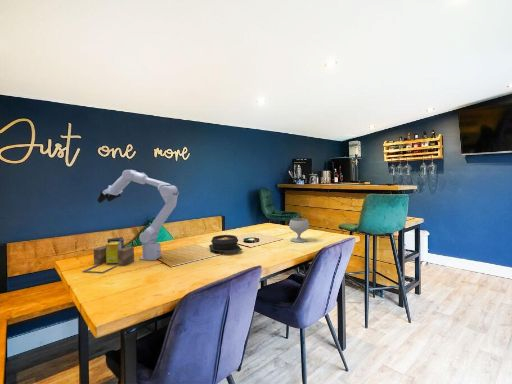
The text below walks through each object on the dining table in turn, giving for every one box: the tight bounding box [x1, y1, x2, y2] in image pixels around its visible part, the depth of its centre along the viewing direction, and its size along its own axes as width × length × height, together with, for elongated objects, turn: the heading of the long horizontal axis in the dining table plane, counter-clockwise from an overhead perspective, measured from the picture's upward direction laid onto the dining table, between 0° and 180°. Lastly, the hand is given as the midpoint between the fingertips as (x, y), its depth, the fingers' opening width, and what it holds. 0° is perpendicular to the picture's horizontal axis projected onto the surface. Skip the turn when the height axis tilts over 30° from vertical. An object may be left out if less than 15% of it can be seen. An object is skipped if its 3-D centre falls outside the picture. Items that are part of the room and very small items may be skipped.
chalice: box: [288, 218, 310, 243], centre depth 201 cm, size 14×14×15 cm
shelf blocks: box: [93, 245, 135, 267], centre depth 152 cm, size 18×8×8 cm, turn 80°
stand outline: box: [81, 264, 119, 274], centre depth 142 cm, size 11×11×1 cm
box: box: [106, 236, 125, 248], centre depth 164 cm, size 8×6×11 cm
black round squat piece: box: [208, 234, 242, 254], centre depth 176 cm, size 25×19×8 cm
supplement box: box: [105, 242, 122, 266], centre depth 152 cm, size 6×6×11 cm
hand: (103, 201), depth 164 cm, fingers open, 7 cm apart
